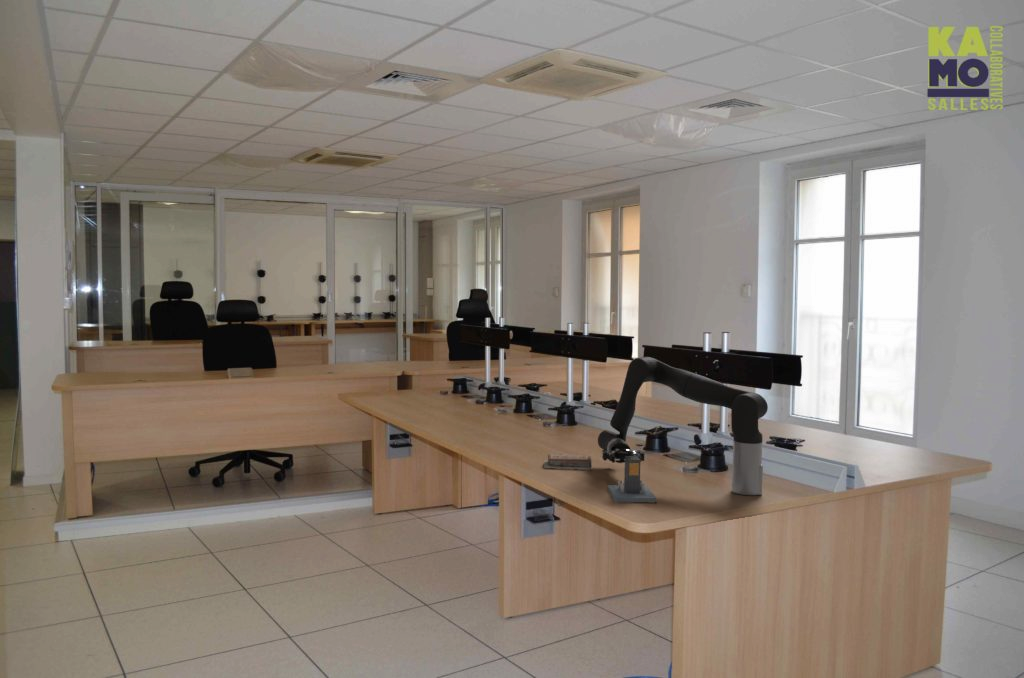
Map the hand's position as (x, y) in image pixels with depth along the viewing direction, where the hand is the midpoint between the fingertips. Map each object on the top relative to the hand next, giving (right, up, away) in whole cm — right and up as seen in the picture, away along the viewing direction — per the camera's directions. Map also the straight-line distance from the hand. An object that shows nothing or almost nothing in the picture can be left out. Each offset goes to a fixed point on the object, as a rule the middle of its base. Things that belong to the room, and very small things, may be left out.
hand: (626, 459), depth 255 cm
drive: (0, -9, -10) cm, 13 cm away
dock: (0, -10, -10) cm, 14 cm away
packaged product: (-17, -8, +32) cm, 38 cm away
